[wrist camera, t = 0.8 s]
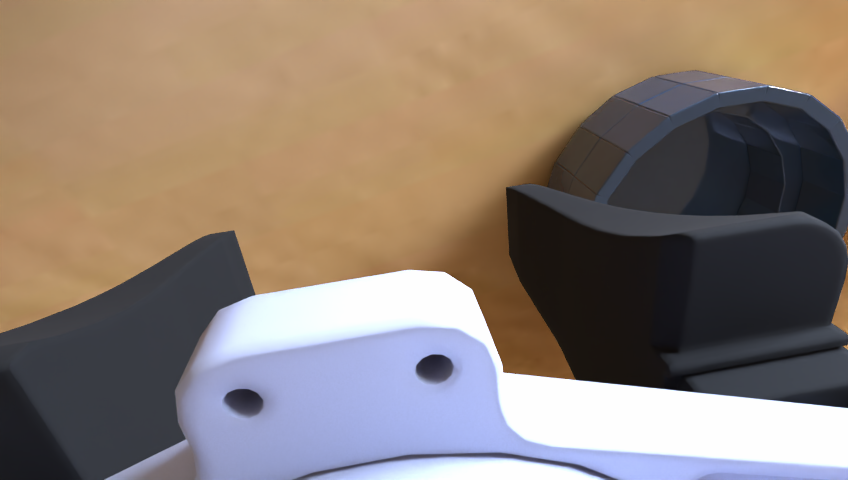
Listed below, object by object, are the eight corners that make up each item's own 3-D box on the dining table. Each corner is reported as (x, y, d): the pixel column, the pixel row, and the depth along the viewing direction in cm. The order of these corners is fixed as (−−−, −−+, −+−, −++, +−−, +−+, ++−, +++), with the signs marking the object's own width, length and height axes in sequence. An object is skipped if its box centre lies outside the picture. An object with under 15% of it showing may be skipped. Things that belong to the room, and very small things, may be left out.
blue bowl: (745, 275, 28) (817, 326, 24) (541, 310, 28) (576, 370, 23) (792, 52, 23) (898, 65, 18) (538, 90, 22) (583, 113, 18)
